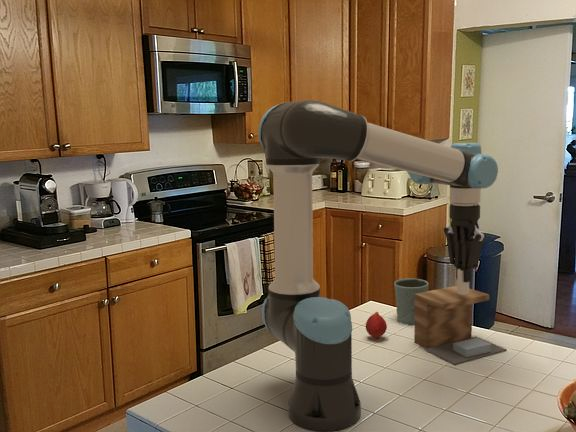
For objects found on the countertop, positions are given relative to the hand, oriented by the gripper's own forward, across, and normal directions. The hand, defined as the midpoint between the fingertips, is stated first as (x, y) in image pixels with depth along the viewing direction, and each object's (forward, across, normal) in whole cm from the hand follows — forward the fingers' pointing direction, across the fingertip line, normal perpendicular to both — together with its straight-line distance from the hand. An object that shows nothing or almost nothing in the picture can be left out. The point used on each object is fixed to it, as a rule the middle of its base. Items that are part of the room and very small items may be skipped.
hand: (463, 293), depth 149 cm
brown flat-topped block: (+15, +4, 0) cm, 16 cm away
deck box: (+13, -4, 0) cm, 13 cm away
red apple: (+16, +18, +15) cm, 28 cm away
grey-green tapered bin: (+16, +25, -3) cm, 29 cm away
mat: (+15, -1, 0) cm, 15 cm away
